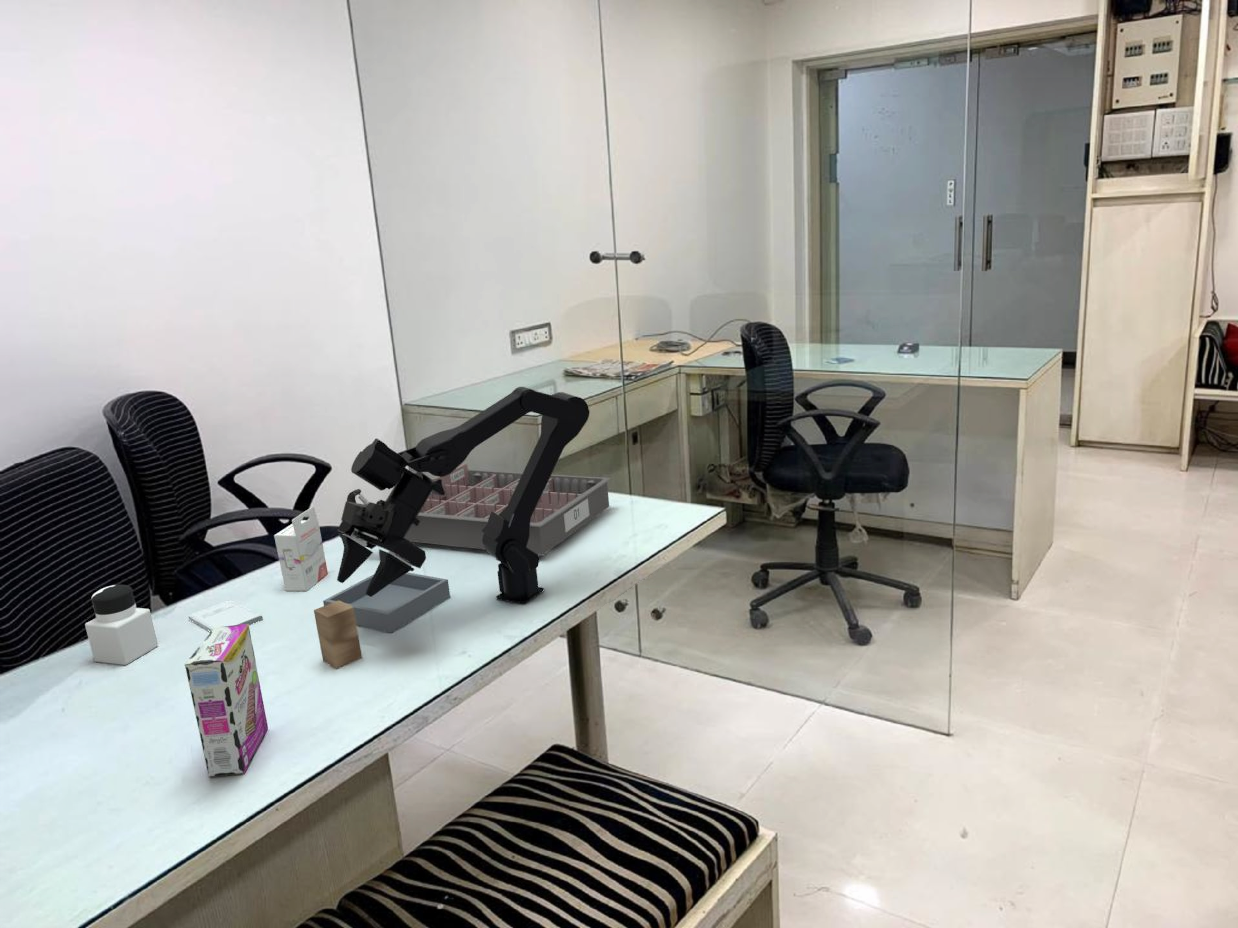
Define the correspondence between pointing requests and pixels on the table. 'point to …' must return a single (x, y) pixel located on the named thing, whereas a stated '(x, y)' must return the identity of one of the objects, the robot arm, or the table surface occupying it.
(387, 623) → the charcoal bin
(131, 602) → the medicine bottle
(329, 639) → the walnut block
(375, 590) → the robot arm
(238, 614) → the white power bank
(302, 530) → the ink cartridge box
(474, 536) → the organizer tray
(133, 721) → the table surface
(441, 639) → the table surface
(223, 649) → the candy bar box
